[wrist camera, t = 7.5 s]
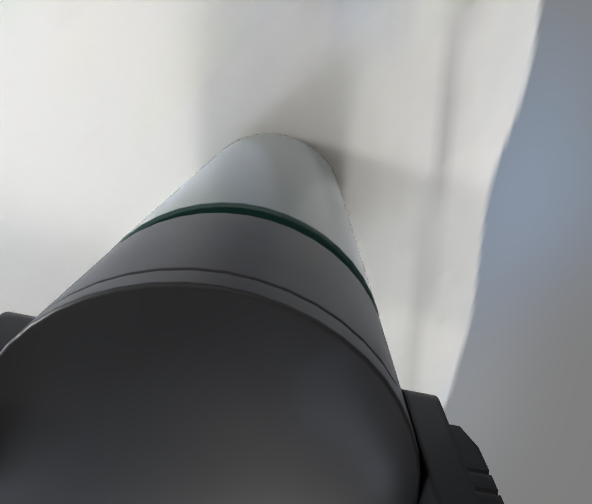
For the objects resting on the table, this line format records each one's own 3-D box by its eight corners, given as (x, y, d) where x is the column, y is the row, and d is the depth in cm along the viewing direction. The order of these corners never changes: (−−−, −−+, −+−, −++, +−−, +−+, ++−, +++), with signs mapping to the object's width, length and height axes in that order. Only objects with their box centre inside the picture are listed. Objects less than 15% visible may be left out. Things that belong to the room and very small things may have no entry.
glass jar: (320, 285, 25) (344, 609, 10) (188, 254, 24) (-3, 544, 9) (358, 153, 22) (470, 312, 7) (212, 116, 22) (9, 204, 7)
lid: (47, 204, 9) (-87, 272, 6) (402, 219, 9) (455, 294, 6) (88, 477, 12) (7, 628, 9) (369, 491, 12) (394, 646, 8)
